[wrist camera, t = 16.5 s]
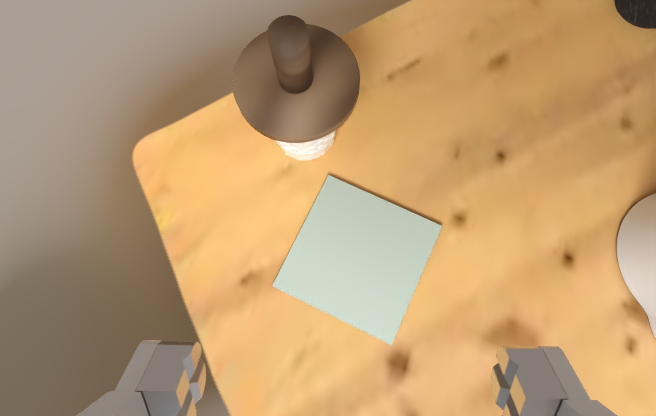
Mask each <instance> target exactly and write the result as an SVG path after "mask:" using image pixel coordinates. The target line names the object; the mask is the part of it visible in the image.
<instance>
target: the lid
mask: <svg viewBox="0 0 656 416" xmlns="http://www.w3.org/2000/svg"><path fill="white" fill-rule="evenodd" d="M232 80H233V81H232V87H233V93H234V97H235V100H236V102H237V104H238V107H239V109H240V111H241V113H242V115H243V116H244V118H245V119H246V121H247V122H248V123H249V124H250V125H251V126H252V127H253V128H254V129H255V130H257V131H258V132H259V133H261V134H263V135H264V136H266V137H269V138H271V139H274V140H277V141H281V142H286V143H305V142H310V141H314V140H317V139H320V138H322V137H325V136H327V135H329V134H330V133H332V132H333V131H335V130H336V129H337V128H339V127H340V126H341V125H342V124H343V123H344V122H345V121H346V120H347V119H348V117H349V116H350V114H351V113H352V111H353V109H354V107H355V105H356V102H357V99H358V94H359V83H360V74H359V67H358V63H357V61H356V58H355V56H354V54H353V52H352V51H351V49H350V48H349V47H348V45H347V44H346V43H345V42H344V41H343V40H342V39H341V38H339V37H338V36H336V35H335V34H334V33H332V32H330V31H329V30H326V29H324V28H321V27H318V26H315V25H309V24H305V22H304V21H303V20H301V19H300V18H298V17H296V16H291V15H286V16H281V17H279V18H277V19H275V20H274V21H273V22H272V23H271V24H270V25H269V27H268V30H267V31H266V32H264V33H262V34H260V35H259V36H258V37H256V38H255V39H254V40H252V41H251V42H250V43H249V44H248V45H247V46H246V48H245V49H244V50H243V51H242V53H241V55H240V56H239V58H238V60H237V62H236V65H235V68H234V72H233V78H232Z"/></svg>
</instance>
